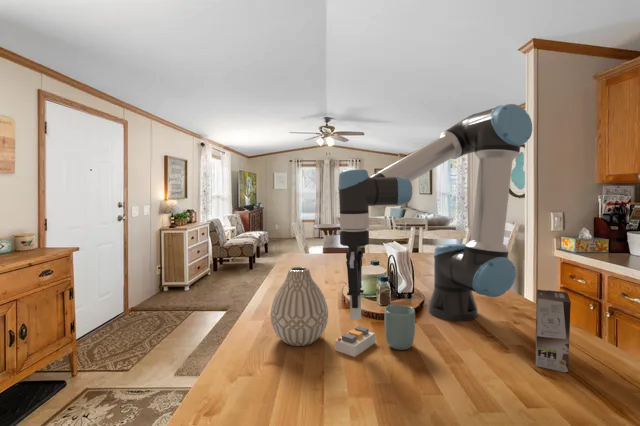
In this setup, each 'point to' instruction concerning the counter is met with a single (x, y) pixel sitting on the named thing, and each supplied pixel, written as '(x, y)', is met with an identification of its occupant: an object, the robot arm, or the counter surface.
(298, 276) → the vase
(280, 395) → the counter surface
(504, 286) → the robot arm
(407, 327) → the cup
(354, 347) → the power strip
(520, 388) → the counter surface
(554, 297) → the coffee box
